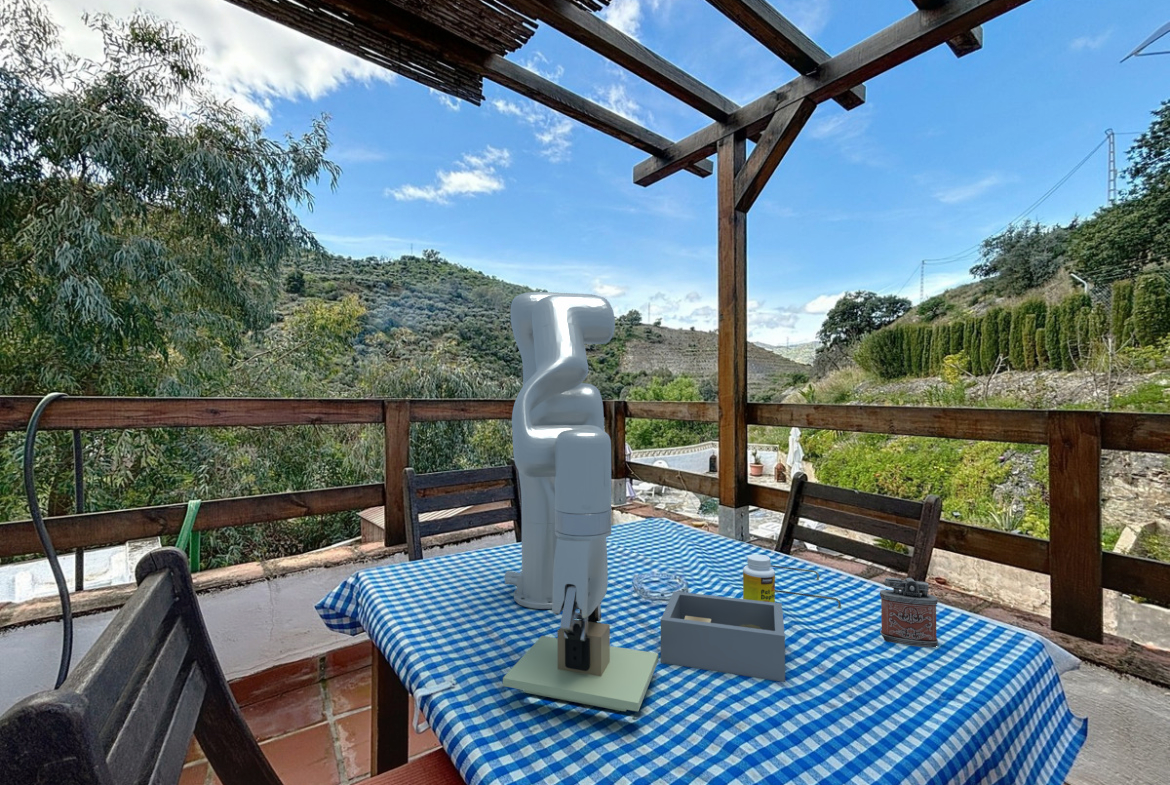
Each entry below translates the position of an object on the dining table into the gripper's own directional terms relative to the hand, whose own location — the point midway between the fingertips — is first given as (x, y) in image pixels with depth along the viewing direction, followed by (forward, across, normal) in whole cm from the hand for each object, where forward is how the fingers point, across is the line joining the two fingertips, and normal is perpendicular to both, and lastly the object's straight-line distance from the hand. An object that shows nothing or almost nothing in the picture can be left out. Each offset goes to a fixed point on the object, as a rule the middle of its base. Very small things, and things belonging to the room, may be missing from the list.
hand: (583, 657), depth 71 cm
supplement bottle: (+5, -35, +22) cm, 42 cm away
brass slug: (+4, -16, +21) cm, 27 cm away
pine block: (+4, -16, +13) cm, 21 cm away
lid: (+3, 0, 0) cm, 3 cm away
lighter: (+5, -31, +45) cm, 55 cm away
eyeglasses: (+6, -49, +28) cm, 57 cm away
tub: (+5, -16, +17) cm, 24 cm away
